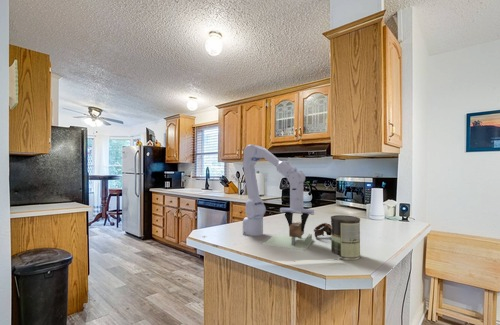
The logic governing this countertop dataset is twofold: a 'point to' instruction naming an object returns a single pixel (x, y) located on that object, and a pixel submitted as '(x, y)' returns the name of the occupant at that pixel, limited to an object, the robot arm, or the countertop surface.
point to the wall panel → (289, 242)
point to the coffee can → (345, 237)
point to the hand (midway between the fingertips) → (296, 230)
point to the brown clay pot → (324, 227)
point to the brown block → (295, 229)
